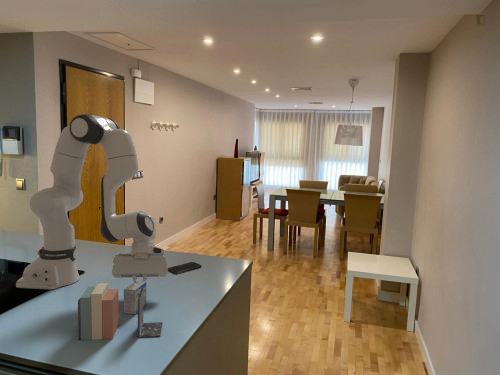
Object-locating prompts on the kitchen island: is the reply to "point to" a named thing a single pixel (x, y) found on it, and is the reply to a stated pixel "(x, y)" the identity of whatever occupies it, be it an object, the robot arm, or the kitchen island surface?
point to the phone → (184, 267)
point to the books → (99, 312)
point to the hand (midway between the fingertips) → (138, 287)
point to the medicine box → (134, 297)
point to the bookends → (143, 328)
